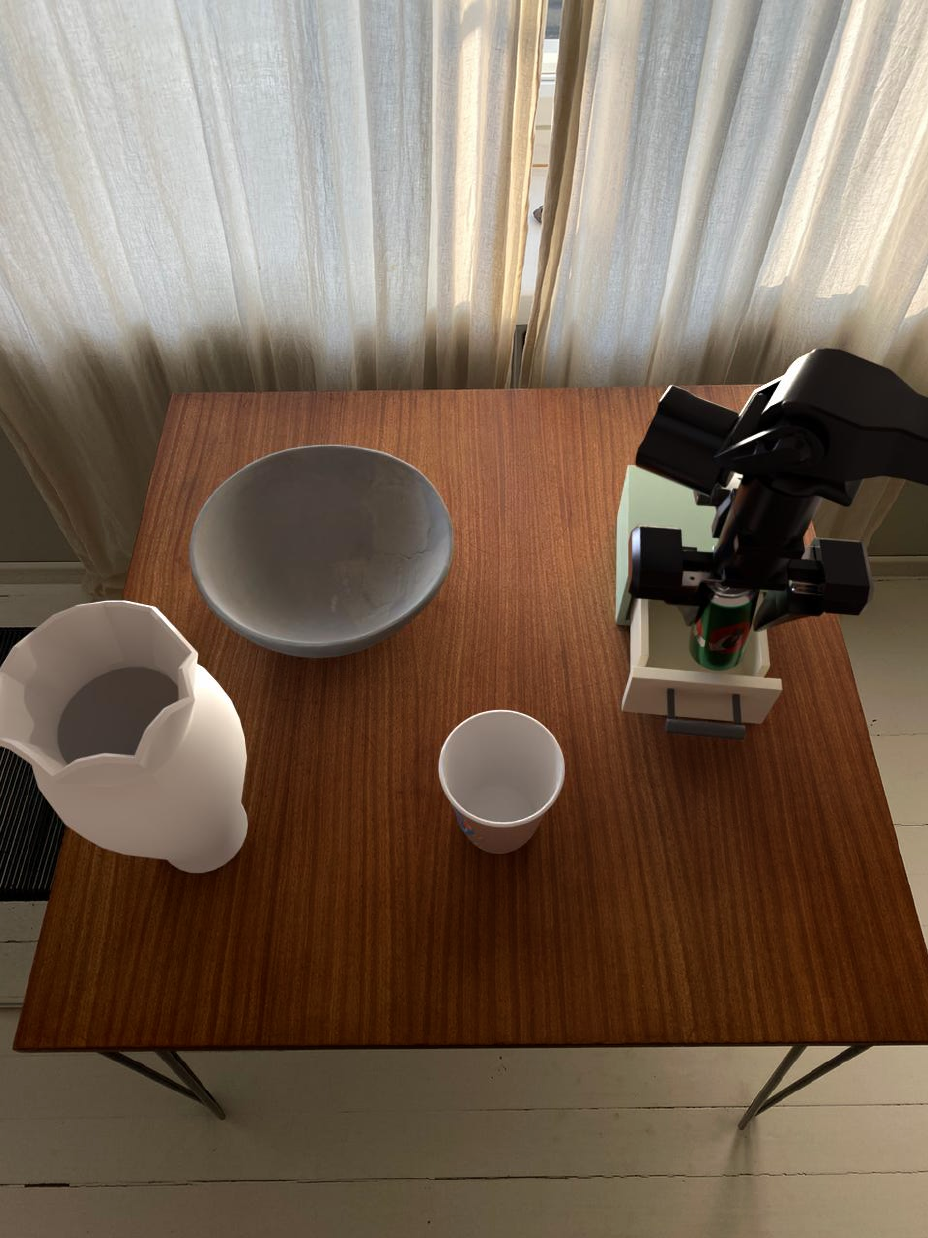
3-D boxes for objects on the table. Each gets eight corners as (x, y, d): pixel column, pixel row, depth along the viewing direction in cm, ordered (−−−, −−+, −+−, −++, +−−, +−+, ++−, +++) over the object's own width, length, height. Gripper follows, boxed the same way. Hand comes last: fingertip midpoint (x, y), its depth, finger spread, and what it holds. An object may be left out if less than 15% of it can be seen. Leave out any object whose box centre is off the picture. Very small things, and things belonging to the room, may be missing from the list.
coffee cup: (441, 769, 84) (437, 711, 74) (548, 764, 84) (558, 706, 74) (444, 875, 78) (440, 829, 68) (559, 870, 78) (571, 823, 68)
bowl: (243, 493, 103) (222, 432, 95) (464, 506, 102) (463, 445, 94) (186, 687, 89) (157, 635, 81) (443, 705, 88) (440, 654, 79)
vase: (301, 768, 84) (231, 597, 60) (259, 923, 76) (158, 799, 52) (155, 748, 85) (28, 573, 61) (99, 898, 78) (-73, 766, 53)
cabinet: (756, 636, 92) (781, 588, 84) (615, 624, 93) (627, 575, 85) (746, 527, 100) (768, 474, 92) (616, 517, 101) (628, 464, 93)
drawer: (765, 766, 83) (787, 735, 77) (621, 753, 84) (632, 721, 78) (751, 609, 93) (769, 570, 87) (622, 598, 93) (632, 559, 88)
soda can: (755, 646, 81) (775, 569, 71) (724, 684, 79) (739, 611, 69) (708, 618, 83) (721, 540, 73) (677, 654, 82) (686, 580, 72)
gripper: (884, 439, 68) (818, 560, 81) (643, 423, 69) (616, 545, 82) (909, 552, 62) (833, 663, 75) (645, 533, 63) (615, 645, 76)
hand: (721, 624), depth 77 cm, fingers closed on soda can, 5 cm apart
